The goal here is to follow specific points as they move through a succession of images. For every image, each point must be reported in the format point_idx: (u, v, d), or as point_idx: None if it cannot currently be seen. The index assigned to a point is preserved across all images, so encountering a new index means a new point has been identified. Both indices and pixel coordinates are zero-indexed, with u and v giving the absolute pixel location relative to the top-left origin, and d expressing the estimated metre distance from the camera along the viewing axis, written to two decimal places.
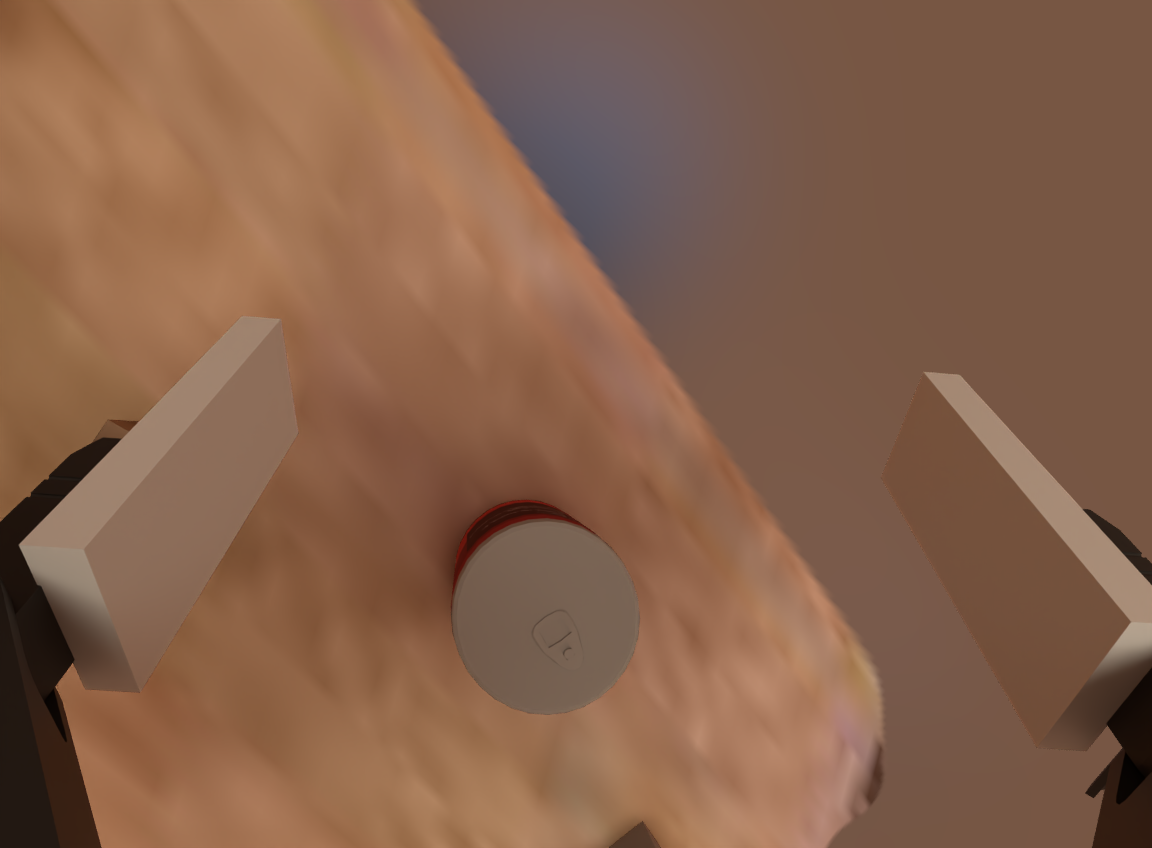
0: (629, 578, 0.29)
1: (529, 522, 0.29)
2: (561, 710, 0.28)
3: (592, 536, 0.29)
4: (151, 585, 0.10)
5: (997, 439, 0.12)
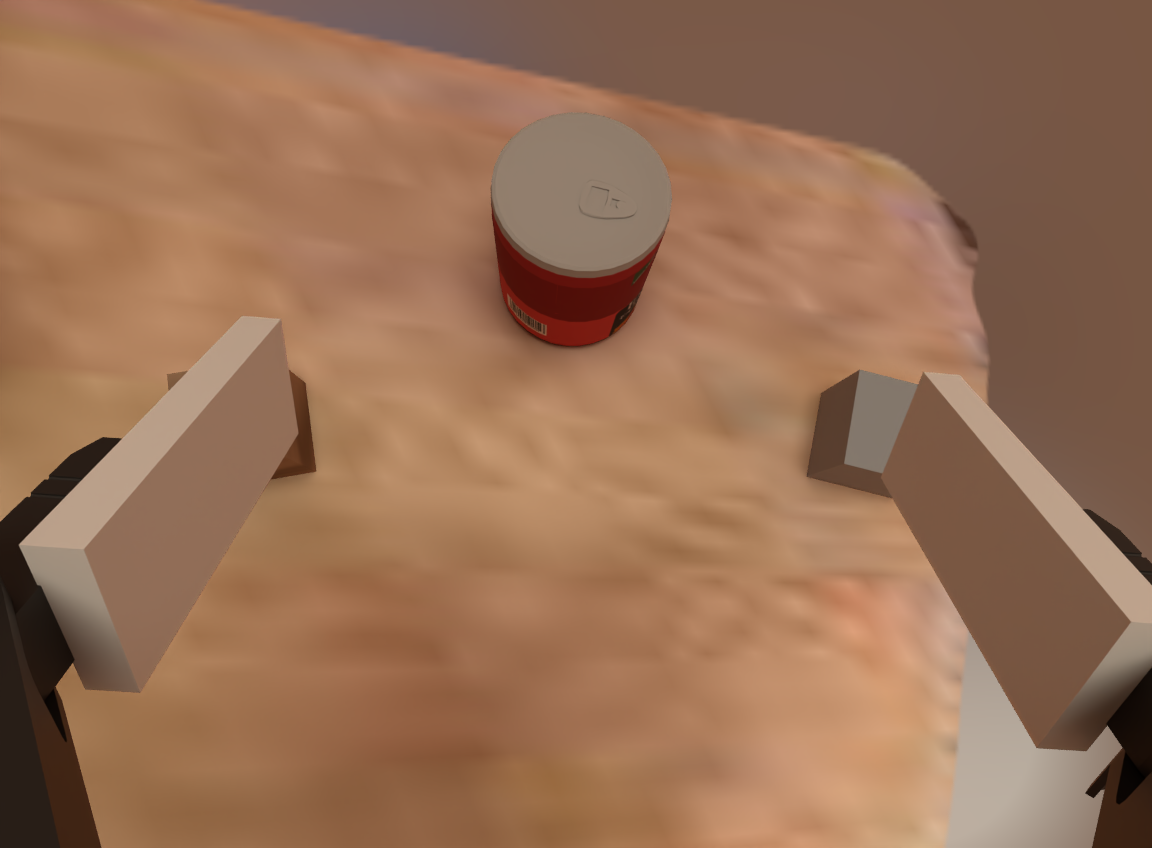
0: (615, 121, 0.31)
1: None
2: (650, 242, 0.30)
3: (563, 114, 0.31)
4: (151, 585, 0.10)
5: (998, 439, 0.12)
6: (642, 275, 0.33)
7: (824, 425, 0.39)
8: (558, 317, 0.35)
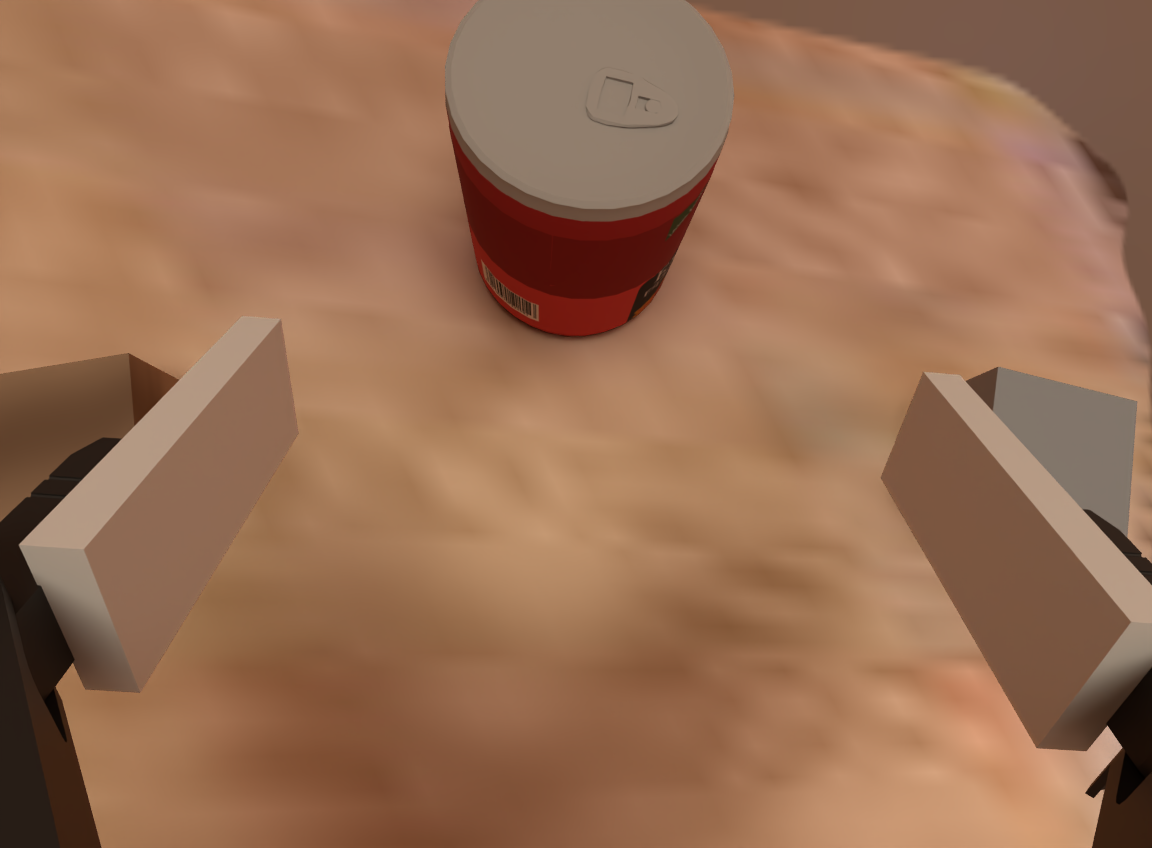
0: None
1: None
2: (701, 163, 0.19)
3: None
4: (151, 585, 0.10)
5: (997, 439, 0.12)
6: (682, 224, 0.22)
7: None
8: (554, 291, 0.24)
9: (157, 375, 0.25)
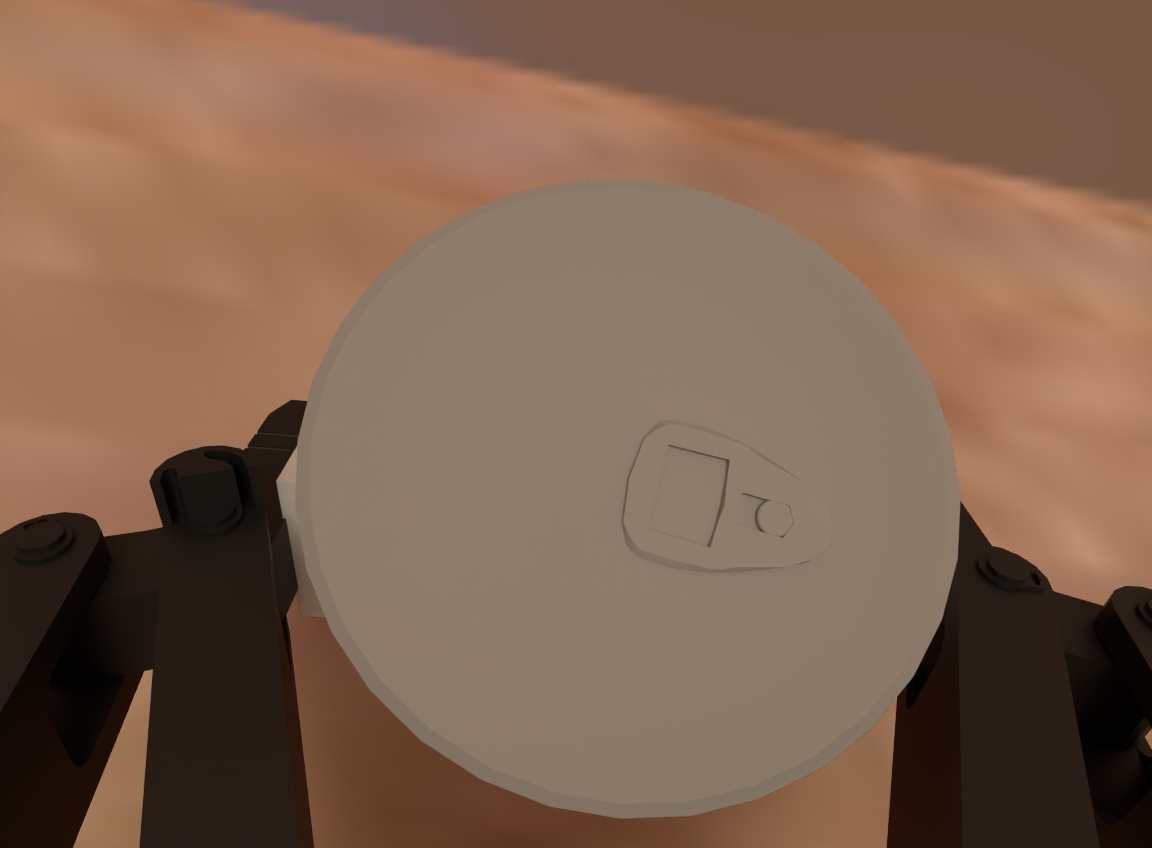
0: (746, 209, 0.09)
1: None
2: (897, 682, 0.08)
3: (565, 185, 0.09)
4: None
5: None
6: None
7: None
8: None
9: None
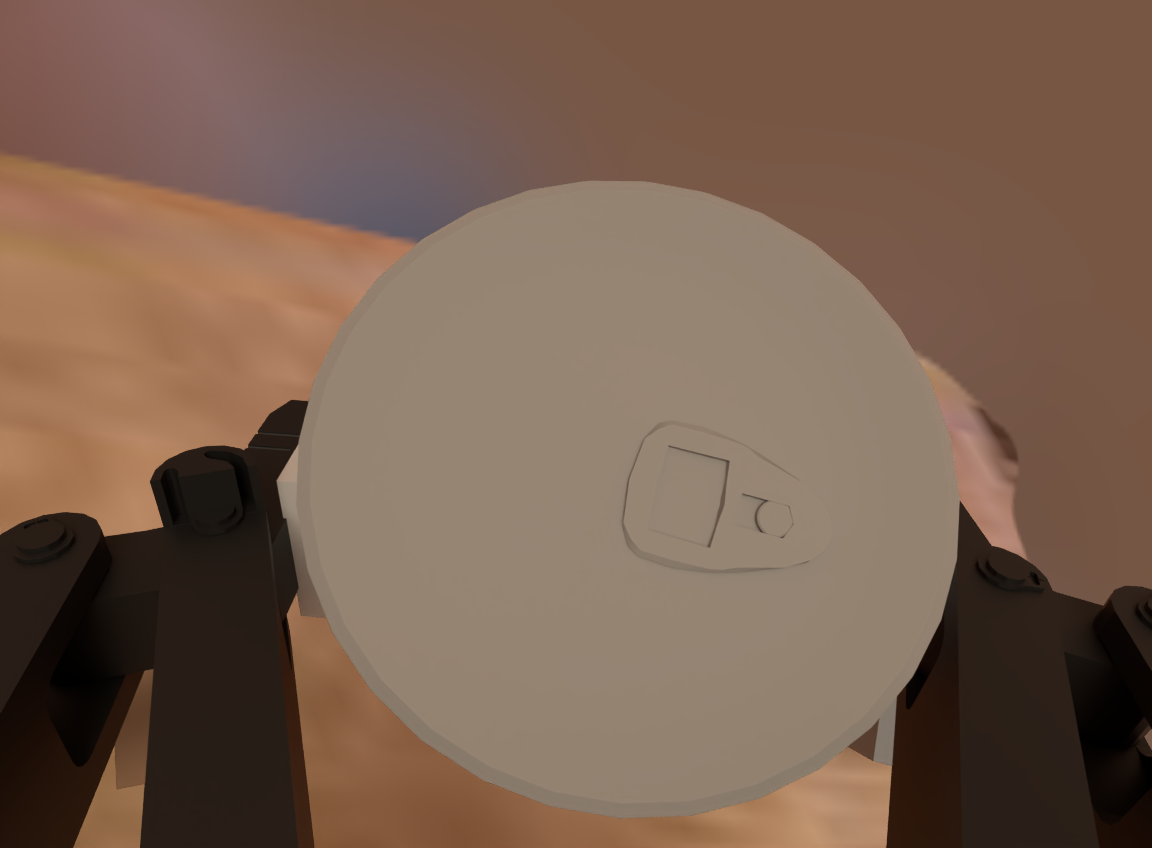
0: (746, 211, 0.09)
1: None
2: (898, 682, 0.08)
3: (565, 187, 0.09)
4: None
5: None
6: None
7: None
8: None
9: None
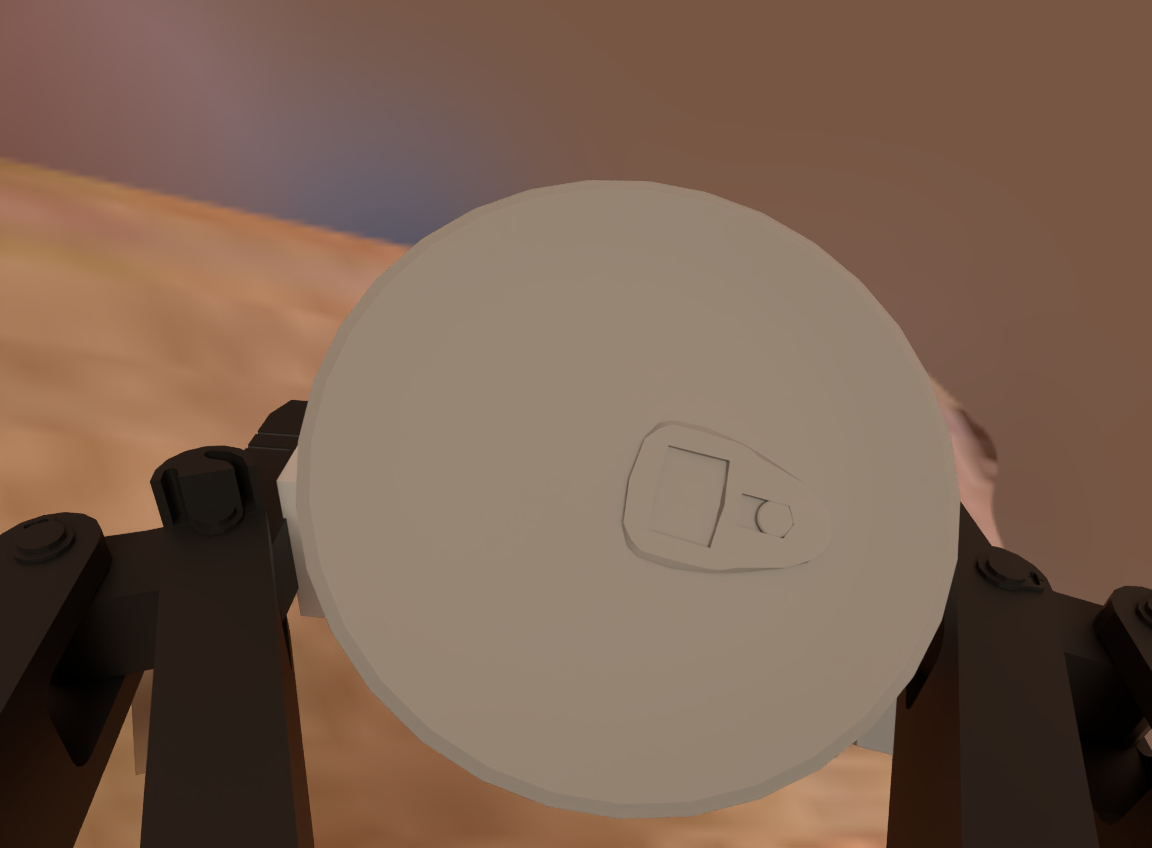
0: (746, 210, 0.09)
1: None
2: (897, 682, 0.08)
3: (565, 186, 0.09)
4: None
5: None
6: None
7: None
8: None
9: None
